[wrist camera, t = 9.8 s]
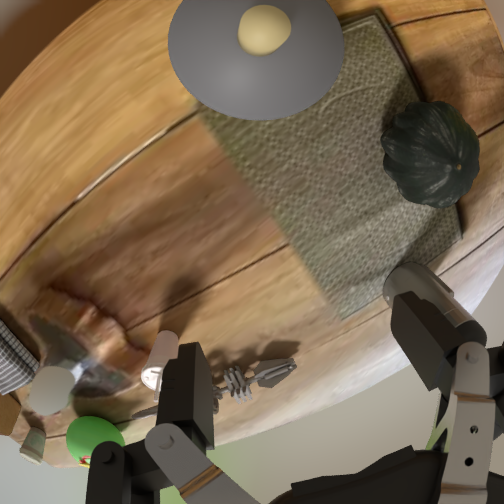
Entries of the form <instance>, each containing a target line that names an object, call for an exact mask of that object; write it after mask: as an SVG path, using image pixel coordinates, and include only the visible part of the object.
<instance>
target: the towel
mask: <svg viewBox="0 0 504 504" xmlns="http://www.w3.org/2000/svg"><path fill="white" fill-rule="evenodd" d="M39 367H40V363H39V362H38V361H37V360H36V359H35V358H34V357H33V355H32V354H31V353H30V352H29V351H28V350H27V349H26V348H25V347H24V346H23V345H22V344H21V343H20V342H19V340H18V339H17V338H16V337H15V336H14V335H13V334H12V333H11V332H10V330H9V329H8V328H7V327H6V325H5V324H4V323H3V322H2V321H1V320H0V393H1V394H2V395H5V394H7V393H9V392H11V391H14V390H16V389H18V388H20V387H22V386H24V385H26V384H28V383H29V382H30V381H31V380H32V379H33V378H34V377H35V373H34V372H35V371H36V370H37V369H38V368H39Z"/></svg>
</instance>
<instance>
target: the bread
mask: <svg viewBox="0 0 504 504" xmlns="http://www.w3.org/2000/svg"><path fill="white" fill-rule="evenodd" d="M20 409H21V405H20V404H19V403H18V402H17V401H16V400H15V399H14V398H13V397H12V396H11V395H10V394H9V393H7V394H5V395H2V394H1V393H0V435H5V436H9V435H10V434H11V433H12V430H13V427H14V425H15V423H16V420H17V418H18V415H19V412H20Z"/></svg>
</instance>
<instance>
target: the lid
mask: <svg viewBox="0 0 504 504" xmlns="http://www.w3.org/2000/svg"><path fill="white" fill-rule="evenodd" d="M168 50H169V57H170V60H171V64H172V66H173V69H174V71H175V73H176V75H177V77H178V78H179V80H180V81H181V83H182V84H183V85H184V87H185V88H186V89H187V90H188V91H189V92H190V93H191V94H192V95H193V96H194V97H195V98H196V99H198V100H199V101H200V102H202V103H203V104H205V105H206V106H208V107H210V108H212V109H213V110H215V111H217V112H220V113H223V114H225V115H228V116H232V117H236V118H240V119H248V120H272V119H279V118H283V117H287V116H290V115H293V114H296V113H299V112H301V111H303V110H305V109H307V108H308V107H310V106H311V105H313V104H314V103H316V102H317V101H318V100H319V99H321V98H322V97H323V96H324V95H325V94H326V93H327V92H328V90H329V89H330V88H331V87H332V85H333V84H334V82H335V81H336V79H337V77H338V74H339V72H340V70H341V66H342V63H343V57H344V39H343V33H342V29H341V26H340V23H339V21H338V19H337V17H336V14H335V13H334V11H333V10H332V8H331V7H330V5H329V4H328V3H327V2H326V0H183V1H182V3H181V4H180V5H179V7H178V9H177V10H176V12H175V14H174V16H173V19H172V21H171V24H170V29H169V34H168Z"/></svg>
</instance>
